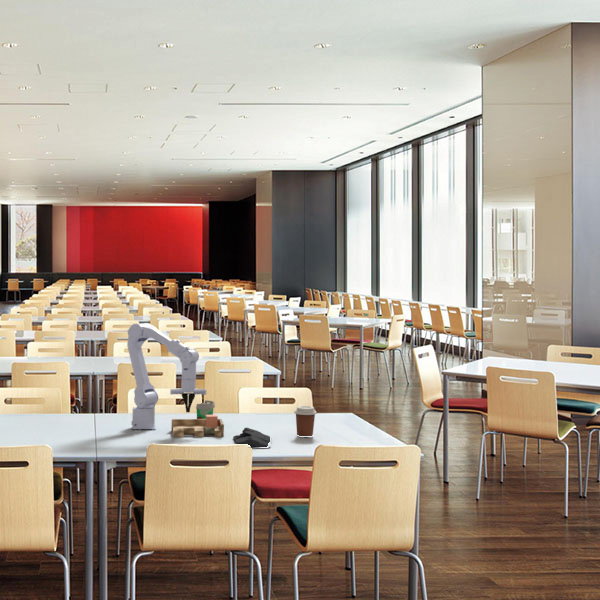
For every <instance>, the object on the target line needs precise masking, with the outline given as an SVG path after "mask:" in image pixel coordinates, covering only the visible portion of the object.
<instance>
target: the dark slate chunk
mask: <svg viewBox="0 0 600 600" xmlns="http://www.w3.org/2000/svg"><path fill="white" fill-rule="evenodd" d="M270 437H271V436H270V435H267V434H265V433H262V432H260V431H259V430H257V429H253V428H249V427H244V428H243V430H242V433H240V434H237V435H234V436H233V437H232V438H233V440H234V442H235V444H236V445H237V444H248V445H250V446H251V447H267V446H268V443H269V442H270ZM251 447H250V448H251Z"/></svg>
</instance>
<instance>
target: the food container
mask: <svg viewBox="0 0 600 600" xmlns="http://www.w3.org/2000/svg"><path fill="white" fill-rule="evenodd" d="M215 405H216V404H215V402H214V401H212V400H207V399H205V400H204V402H201V403H196V407H195V408H196V419H206V415H214V409H215V408H216V406H215Z"/></svg>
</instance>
